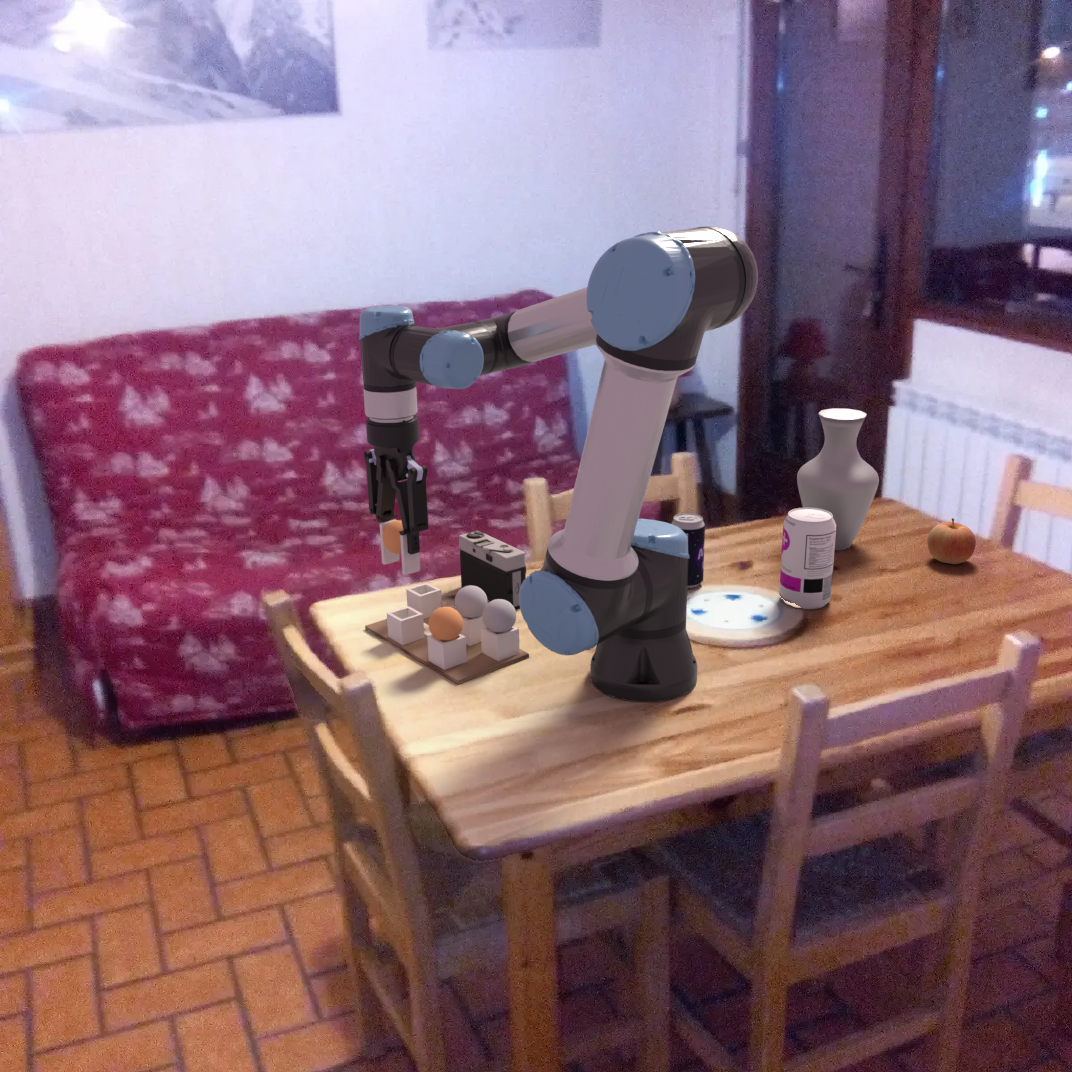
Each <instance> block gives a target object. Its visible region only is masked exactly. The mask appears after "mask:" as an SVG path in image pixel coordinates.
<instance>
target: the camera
mask: <svg viewBox="0 0 1072 1072" xmlns="http://www.w3.org/2000/svg"><path fill="white" fill-rule="evenodd" d="M458 545H459V546H458V549H459V561H460V562H459V565H460V566H459V567H460V585H461V588H463V587H465V586H470V585H472V586H477V587H479V588H481V589H482V590H483V591H484V592H485V594H486V596H487V600H488V603H489V602H491V601H492V600H495V599H503V600H506V601H508V602H510V603H511V604H512V605H513V607H514V608H515V611H516V610H520V605H519V591H520V587H521V585H522V583H523V581H524V580H525V579H526V578H527V576H526V574H527V566H526V553H525V551H523V550H521V549H519V548H517V547H514V546H513V545H511V544H508V543H506V542H504V541H501V540H500V539H497V538H495V537H492V536H490V535H488V534H487V533H484V532H483V531H479V530H473V531H470V532H467V533H463V534H459V535H458Z"/></svg>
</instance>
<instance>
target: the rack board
mask: <svg viewBox="0 0 1072 1072" xmlns="http://www.w3.org/2000/svg"><path fill="white" fill-rule="evenodd" d="M429 618H430V617H428V618H425V619H423V621H424V638H423V639H420V640H417V641H414V642H411V643H408V644H405V645H401V644H399V643H398V642H396V641H394V640H393V639H391V638H389V637H388V625H387V618H385V619H381V620H379V621H376V622H373V623H369V624H367V625H365V626H364V627H365V629H364V630H366V631H368V632H370V633H371V634H372V635H374V636H376V637H378V639H381V640H383V641H385V642H386V643H388V644H389V645H391V646H392V647H394V648H396V649H397V650H400V651H401V652H403V653H405V654H406V655H408V656H410V657H411V658H412V659H414V660H416V661H418V662H420V663H422V664H423V665H425V666H426V667H428V668H430V669H431V670H433V671H434V672H437V673H438V674H440V675H441V676H443V677H444V678H446V679H448V680H450V681H451V682H454V684H457V685H460V684H463V683H465V682H467V681H471V680H472V679H476V678H479V677H481V676H484V675H486V674H489V673H491V672H494V671H497V670H500V669H501V668H504V667H507V666H511V665H512V664H515V663H517V662H520V661H523V660H526V659H529V658H530V653H529V652H527V651H525V650H523V649H521V648H519V652H520V653H519V654H517V655H514V656H511V657H509V658H506V659H503V660H501V661H497V660H495V659H493V658H491V657H489V656H487V655H486V654H484V653H482V645H481V642H479V643H477V644H474V645H471V646H469V645H467V644H466V655H467V662H465V663H462V664H459V665H457V666H454V667H451V668H448V669H446V670H444V669H442V668H440V667H439V666H437V665H435V664H433V663H432V662H430V661H429V656H428V639H427V636H429V635H432V634H431V632H430V630H429Z"/></svg>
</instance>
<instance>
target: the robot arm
mask: <svg viewBox="0 0 1072 1072" xmlns="http://www.w3.org/2000/svg"><path fill="white" fill-rule="evenodd" d="M758 283H759V270H758V264H757V261H756V258H755V255H754V253H753V251H752V250H751V249H750V246H749V245H748V244H747V243H746V242H745V241H744V239H742V238H741V237H740V236H738V235H737V234H735V233H734V232H732V231H730V230H728V229H725V228H722V227H718V226H698V227H692V228H687V229H678V230H671V231H662V232H660V231H649V232H648V231H647V232H644V233H639V234H637V235H634V236H633V237H630V238H626V239H623V240H621V241H618V242H616V243H615V244H614V245H612V246H610V247H608V249H607V250H605V252H604V253H602V255H601V256H600V257H599V258H598V259H597V261H596V263H595V264H594V266H593V268H592V271H591V273H590V275H589V279H588V283H587V287H582V288H581V289H577V290H574V291H571V292H568V293H565V294H562V295H560V296H557V297H556V296H555V297H553V298H550V299H547V300H544V301H540V302H538V303H536V304H535V303H534V304H533V305H529V306H527V307H524V308H520V309H517V310H514V311H511V312H507V313H505V314H502V315H498V316H496V317H492V318H487V319H482V320H477V321H470V322H466V323H462V324H461V323H460V324H454V325H450V326H444V327H437V328H435V327H425V326H419V325H415V322H416V321H415V320H414V317H413V316H414V315H413V311H412V309H411V308H409V307H407V306H403V305H379V306H371V307H368V308H365V309H363V310H362V311H361V312H360V315H359V337H358V340H359V344H360V345H359V347H360V358H361V367H362V369H361V371H362V372H361V373H362V383H363V403H364V404H363V405H364V414H365V416H366V417H368V418H366V420H365V428H366V430H365V431H366V441H367V443H368V445H369V446H371V447H373V448H374V449H368V450H363V459H364V461H365V468H366V482H367V495H368V497H367V499H368V510H369V514H370V515H373V516H374V515H375V519H376V521H377V522H378V528H379V537H380V539H379V540H380V552H381V564H383V565H389V564H393V563H395V562H399V561H400V558H401V569H402V570H401V572H402V573H401V574H402V575H404V576H408V575H410V574H415V573H417V572H420V571H421V558H420V555H421V554H420V553H421V552H420V551H421V545H420V532H423V531H427V530H428V529H429V516H428V515H429V514H428V513H429V511H428V496H427V476H428V467H427V466H426V465H425V464H424V465H419V464H418V463H417V462H416V455H415V454H414V446H415V445H416V444H417V443H418V442H419V441H420V425H419V424H420V423H419V421H420V420H419V418H418V416H417V415H416V414H417V413H418V397H417V396H418V394H417V393H418V391H417V385H418V384H417V383H419V384H420V383H421V384H423V385H424V384H425V385H430V386H434V387H437V388H441V389H443V390H445V389H446V390H450V389H453V390H463V389H467V388H469V387H472V385H473V384H474V383H475V382H476V381H477V380H478V379H479V378H480V377H482V376H486V375H488V374H492V373H499V372H502V371H507V370H510V369H511V370H512V369H518V368H522V367H526V366H528V365H530V364H532V363H534V362H539V361H542V360H546V359H550V358H552V357H556V356H557V357H558V356H559V355H563V354H567V353H570V352H574V351H578V350H583V349H585V348H588V347H592V346H596V347H597V349H598V350H599V352H600V353H601V354H602V356H603V358H604V361H603V365H602V369H601V373H600V377H599V378H600V379H599V381H598V386H597V391H596V395H595V398H594V403H593V407H592V411H591V416H590V419H589V420H590V421H589V424H588V428H587V432H586V436H585V441H584V444H583V449H582V454H581V457H580V461H579V466H578V471H577V473H576V474H577V475H576V479H575V482H574V486H573V487H574V488H573V491H572V494H571V495H572V496H571V499H570V504H569V506H568V507H569V508H568V512H567V516H566V520H565V525H564V528H563V529H560V530H558V531H556V532H555V533H554V534H553V535H552V536H551V537H550V539H549V541H548V543H547V548H546V552H545V557H544V561H543V565H542V567H541V568H540V569H539V570H538V569H537V570H534V571H532V572H531V573H530V574H529V575H528V576H526V579H525V580H524V581H523V583H522V585H521V587H520V591H519V605H520V608H519V610H520V613H521V616H522V619H523V621H525V623H526V625H527V628H528V630H529V632H530V633H531V634H532V635H533V637H534V638H535V639H536V640H537V642H538V643H540V645H542V646H543V647H545V648H546V649H547V650H549V651H551V652H553V653H555V654H558V655H562V656H576V655H577V654H580V653H582V652H584V651H590V650H592V649H594V648H595V651H594V653H593V655H592V657H591V660H590V664H589V665H590V668H589V669H590V670H589V671H590V676H589V677H590V681H591V684H592V685H593V686H594V687H595V688H597V690H598V691H600V692H601V693H603V694H605V695H607V696H610V697H613V698H615V699H619V700H623V701H628V702H638V703H654V702H655V703H656V702H657V703H658V702H663V701H664V702H665V701H669V700H673V699H677V698H679V697H682V696H684V695H685V694H688V693H689V692H690V691H692V690H693V688H695V686H696V685H697V682H698V662H697V659H696V657H695V655H694V652H693V648H692V647H693V646H692V643H691V641H690V637H689V634H688V630H687V608H688V606H687V605H688V604H687V603H688V589H687V581H688V559H689V554H688V539H687V535H686V534H685V533H684V532H683V530H682V529H680V528H679V527H677V526H675V525H672V524H671V523H669V522H665V521H661V520H655V519H647V518H640V514H641V511H642V507H643V503H644V500H645V496H646V493H647V489H648V486H649V481H650V479H651V476H652V475H651V474H652V471H653V467H654V464H655V460H656V456H657V453H658V448H659V445H660V442H661V438H662V436H663V435H662V434H663V432H664V431H663V430H664V427H665V424H666V421H667V416H668V413H669V409H670V407H671V403H672V400H673V395H674V391H675V387H676V384H677V381H678V378H679V377H680V376H682V375H683V374H686V373H688V372H690V371H691V370H693V369H694V367H695V366H696V362H697V358H698V356H699V352H700V349H701V345H702V341H703V337H704V335H705V333H706V332H709V331H712V330H715V329H719V328H722V327H724V326H726V325H729V324H731V323H733V322H734V321H736V320H737V319H738V318H739V317H741V316H742V315H743V314H744V312H746V311H747V309H748V308H749V306H750V305H751V303H752V302H753V300H754V298H755V295H756V292H757V288H758ZM396 499H397V505H398V510H399V514H400V516H398V514H397V513H396V511H395V503H396ZM398 517H400V520H401V521H402V526H403V531H399V533H400V541H401V554H396V553H393V552H391V551H389V550H388V549H387V548H386V547H385V545H384V543H383V539H382V535H383V531H384V529H385V527H386V526H387V525H388V524H389V523H391V522H393V521H396V520H397V519H396V518H398ZM400 556H401V557H400Z"/></svg>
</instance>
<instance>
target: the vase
mask: <svg viewBox="0 0 1072 1072" xmlns="http://www.w3.org/2000/svg"><path fill="white" fill-rule="evenodd" d="M818 417H819V419H820V423H821V425H822V428H823V429H822V430H823V434H824V442H823V443H824V444H823V446H822V449H821V450H820V452H819V453H818V454H817V455H816V456H815V457H814V458H812V459H810V460H808V461H807V462H805V464H803V465H802V466H801V467H799V470H798V471H797V474H796V475H797V477H796V481H797V482H796V483H797V488H798V492H799V497H800V500H801V506H802V508H817V509H823V510H826V511H828V512H830V513H832V515H833V519H834V521H835V523H836V536H835V549H834V551H843V550H848V549H850V547H851V546H852V544H853V543H854V541H855V539H856V538H857V536H858V534H859V533H860V530H861V528H862V526H863V524H864V521H865V520H866V517H867V515H868V512H869V511H870V508H871V506H872V504H873V501H874V498H875V496H876V493H877V490H878V488H879V487H878V486H879V484H880V483H879V482H880V479H879V474H878V472H877V470H876V469H874V467H873V466H871V465H870V464H869V463H867V462H866V461H865V460H864V459H863V458H862V457H861V455H860V452H859V450H858V446H857V440H858V439H857V438H858V436H859V433H860V430H861V428H862V426H863V423H864V421H865V418H866V417H867V413H866V412H865V411H862V410H858V409H852V408H839V407H838V408H835V407H834V408H827V409H822V410H820V411H819V412H818ZM847 548H848V549H847Z"/></svg>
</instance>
